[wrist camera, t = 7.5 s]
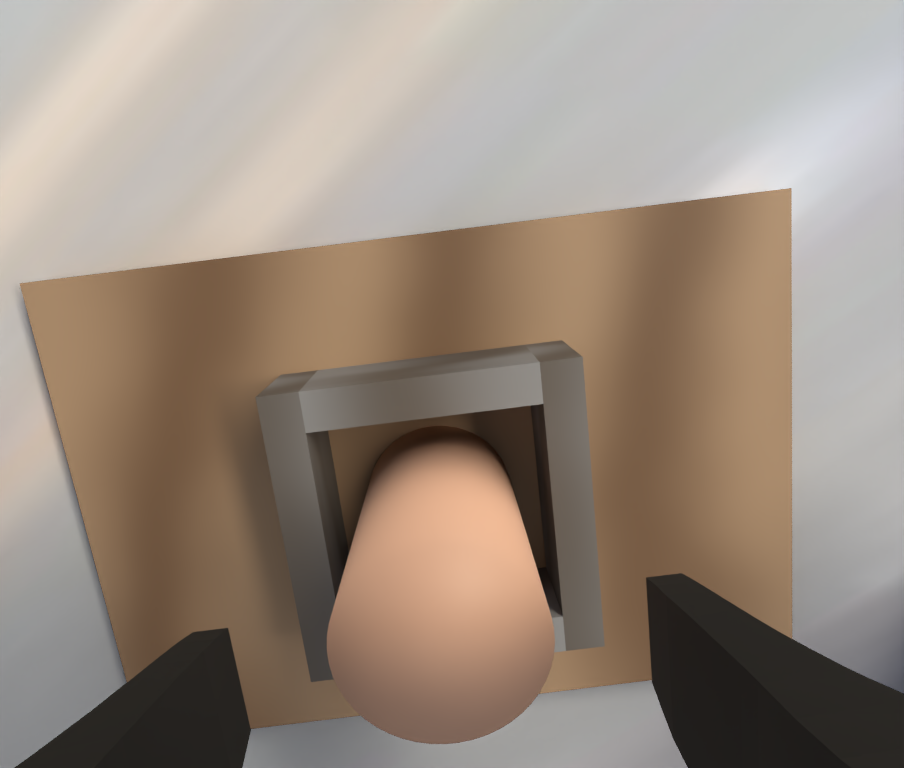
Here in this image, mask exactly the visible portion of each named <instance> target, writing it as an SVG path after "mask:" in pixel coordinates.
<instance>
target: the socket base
mask: <svg viewBox="0 0 904 768" xmlns="http://www.w3.org/2000/svg"><path fill="white" fill-rule="evenodd" d="M20 286H21V290H22V294H23V298H24V301H25V305H26V309H27V312H28V316H29V320H30V324H31V327H32V331H33V335H34V338H35V342H36V346H37V350H38V353H39V357H40V361H41V364H42V368H43V372H44V376H45V379H46V383H47V387H48V391H49V394H50V398H51V402H52V405H53V409H54V413H55V417H56V420H57V424H58V428H59V431H60V435H61V439H62V443H63V446H64V450H65V454H66V457H67V461H68V465H69V469H70V472H71V476H72V480H73V484H74V487H75V491H76V495H77V498H78V502H79V506H80V510H81V513H82V517H83V521H84V524H85V528H86V532H87V536H88V539H89V543H90V547H91V551H92V554H93V558H94V562H95V565H96V569H97V573H98V577H99V580H100V584H101V588H102V591H103V595H104V599H105V603H106V606H107V610H108V614H109V617H110V621H111V625H112V629H113V632H114V636H115V640H116V644H117V647H118V651H119V655H120V658H121V662H122V666H123V670H124V673H125V677H126V681H127V682H128V681H130V680H131V679H132V678H133V677H135V676H136V675H137V674H138V673H140V672H141V671H142V670H143V669H145V668H146V667H147V666H148V665H150V664H151V663H152V662H153V661H155V660H156V659H157V658H158V657H160V656H161V655H162V654H163V653H165V652H166V651H167V650H169V649H170V648H171V647H172V646H174V645H175V644H176V643H178V642H179V641H181V640H182V639H183V638H185V637H186V636H188V635H189V634H191V633H192V632H197V631H206V630H214V629H222V628H228V630H229V634H230V639H231V643H232V648H233V652H234V657H235V661H236V666H237V670H238V674H239V679H240V683H241V688H242V692H243V697H244V701H245V706H246V710H247V715H248V719H249V724H250V728H251V729H254V728H262V727H270V726H279V725H287V724H295V723H303V722H311V721H319V720H328V719H336V718H344V717H352V716H360V714H359V713H357V712H356V711H355V710H354V709H353V708H352V706H351V705H350V704H349V703H348V702H347V701H346V699H345V698H344V696H343V695H342V693H341V692H340V690H339V689H338V687H337V684H336V682H335V680H334V678H333V676H332V672H331V669H330V666H329V662H328V655H327V632H328V625H329V621H330V618H331V614H332V611H333V607H334V604H335V600H336V597H337V593H338V590H339V586H340V583H341V579H342V576H343V573H344V569H345V566H346V562H347V559H348V555H349V552H350V548H351V545H352V541H353V538H354V534H355V531H356V527H357V524H358V520H359V517H360V514H361V510H362V507H363V503H364V500H365V496H366V493H367V489H368V486H369V482H370V479H371V475H372V472H373V469H374V467H375V465H376V463H377V461H378V459H379V458H380V456H381V455H382V454H383V452H384V451H385V450H386V449H387V448H388V447H389V446H390V445H391V444H392V443H393V442H394V441H396V440H397V439H399V438H400V437H401V436H403V435H405V434H407V433H409V432H411V431H414V430H417V429H420V428H424V427H429V426H451V427H457V428H461V429H464V430H467V431H469V432H471V433H474V434H476V435H477V436H479V437H481V438H482V439H483V440H485V441H486V442H487V443H489V444H490V445H491V446H492V447H493V448H494V449H495V451H496V452H497V453H498V455H499V456H500V457H501V459H502V461H503V463H504V464H505V466H506V469H507V472H508V475H509V478H510V481H511V484H512V488H513V491H514V494H515V498H516V501H517V504H518V508H519V511H520V514H521V517H522V521H523V524H524V527H525V531H526V534H527V537H528V541H529V544H530V547H531V550H532V554H533V557H534V560H535V564H536V567H537V570H538V574H539V577H540V580H541V583H542V587H543V590H544V593H545V597H546V600H547V603H548V607H549V610H550V613H551V617H552V621H553V626H554V635H555V648H554V657H553V661H552V666H551V669H550V672H549V675H548V677H547V680H546V682H545V684H544V685H543V687H542V689H541V691H540V693H539V694H541V693H549V692H557V691H565V690H573V689H581V688H590V687H598V686H606V685H614V684H622V683H631V682H639V681H647V680H652V673H651V656H650V639H649V622H648V605H647V588H646V577H654V576H662V575H670V574H678V573H682V574H684V575H686V576H688V577H690V578H691V579H693V580H695V581H696V582H698V583H700V584H701V585H703V586H705V587H706V588H708V589H710V590H711V591H713V592H714V593H716V594H718V595H719V596H721V597H722V598H724V599H726V600H727V601H729V602H730V603H732V604H734V605H735V606H737V607H739V608H740V609H742V610H743V611H745V612H747V613H748V614H750V615H752V616H753V617H755V618H757V619H758V620H760V621H762V622H763V623H765V624H767V625H768V626H770V627H772V628H774V629H775V630H777V631H779V632H781V633H782V634H784V635H786V636H788V637H789V638H791V639H792V296H791V188H789V189H781V190H773V191H765V192H757V193H749V194H741V195H733V196H725V197H717V198H708V199H700V200H692V201H684V202H676V203H668V204H660V205H652V206H644V207H636V208H628V209H619V210H611V211H603V212H595V213H587V214H579V215H571V216H563V217H555V218H547V219H538V220H530V221H522V222H514V223H506V224H498V225H490V226H482V227H474V228H466V229H457V230H449V231H441V232H433V233H425V234H417V235H409V236H401V237H393V238H385V239H377V240H368V241H360V242H352V243H344V244H336V245H328V246H320V247H312V248H304V249H296V250H287V251H279V252H271V253H263V254H255V255H247V256H239V257H231V258H223V259H215V260H207V261H198V262H190V263H182V264H174V265H166V266H158V267H150V268H142V269H134V270H126V271H117V272H109V273H101V274H93V275H85V276H77V277H69V278H61V279H53V280H45V281H36V282H28V283H20Z"/></svg>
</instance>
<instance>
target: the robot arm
mask: <svg viewBox="0 0 904 768" xmlns="http://www.w3.org/2000/svg"><path fill="white" fill-rule="evenodd" d="M646 588H647V605H648V622H649V639H650V656H651V673H652V683H653V686H654V689H655V691H656V694H657V697H658V700H659V702H660V705H661V708H662V711H663V713H664V716H665V718H666V721H667V724H668V726H669V729H670V731H671V734H672V737H673V739H674V741H675V743H676V745H677V747H678V749H679V751H680V753H681V755H682V757H683V759H684V761H685V763H686V765H687V767H688V768H904V694H903V693H901V692H898V691H896V690H894V689H892V688H889V687H887V686H885V685H883V684H880V683H878V682H876V681H874V680H871V679H869V678H867V677H865V676H863V675H861V674H858V673H856V672H854V671H852V670H850V669H848V668H846V667H844V666H842V665H840V664H838V663H836V662H834V661H832V660H830V659H829V658H827V657H825V656H823V655H821V654H819V653H817V652H815V651H813V650H811V649H809V648H808V647H806V646H804V645H802V644H800V643H798V642H797V641H795V640H793V639H791V638H789V637H788V636H786V635H784V634H782V633H781V632H779V631H777V630H775V629H774V628H772V627H770V626H768V625H767V624H765V623H763V622H762V621H760V620H758V619H757V618H755V617H753V616H752V615H750V614H748V613H747V612H745V611H743V610H742V609H740V608H739V607H737V606H735V605H734V604H732V603H730V602H729V601H727V600H726V599H724V598H722V597H721V596H719V595H718V594H716V593H714V592H713V591H711V590H710V589H708V588H706V587H705V586H703V585H701V584H700V583H698V582H696V581H695V580H693V579H691V578H690V577H688V576H686V575H684V574H682V573H678V574H670V575H662V576H654V577H646ZM250 731H251V728H250V724H249V719H248V715H247V710H246V706H245V701H244V697H243V692H242V688H241V683H240V679H239V674H238V670H237V666H236V661H235V657H234V652H233V648H232V643H231V639H230V634H229V630H228V628H222V629H214V630H206V631H197V632H192V633H191V634H189V635H188V636H186V637H185V638H183V639H182V640H181V641H179V642H178V643H176V644H175V645H174V646H172V647H171V648H170V649H169V650H167V651H166V652H165V653H163V654H162V655H161V656H160V657H158V658H157V659H156V660H155V661H153V662H152V663H151V664H150V665H148V666H147V667H146V668H145V669H143V670H142V671H141V672H140V673H138V674H137V675H136V676H135V677H133V678H132V679H131V680H130V681H128V682H127V683H126V684H125V685H123V686H122V687H121V688H120V689H118V690H117V691H116V692H115V693H113V694H112V695H111V696H110V697H108V698H107V699H106V700H104V701H103V702H102V703H101V704H99V705H98V706H97V707H96V708H94V709H93V710H92V711H91V712H89V713H88V714H87V715H85V716H84V717H83V718H81V719H80V720H79V721H77V722H76V723H75V724H73V725H72V726H71V727H69V728H68V729H67V730H65V731H64V732H62V733H61V734H60V735H58V736H57V737H56V738H54V739H53V740H52V741H50V742H49V743H48V744H46V745H45V746H44V747H42V748H41V749H40V750H38V751H37V752H36V753H34V754H33V755H32V756H30V757H29V758H27V759H26V760H25V761H23V762H22V763H20V764H19V765H18V766H16V767H15V768H242V766H243V762H244V758H245V753H246V749H247V744H248V740H249V735H250Z"/></svg>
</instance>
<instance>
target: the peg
mask: <svg viewBox="0 0 904 768" xmlns="http://www.w3.org/2000/svg"><path fill="white" fill-rule="evenodd" d="M554 648H555V635H554V626H553V621H552V617H551V613H550V610H549V607H548V603H547V600H546V597H545V593H544V590H543V587H542V583H541V580H540V577H539V574H538V570H537V567H536V564H535V560H534V557H533V554H532V550H531V547H530V544H529V541H528V537H527V534H526V531H525V527H524V524H523V521H522V517H521V514H520V511H519V508H518V504H517V501H516V498H515V494H514V491H513V488H512V484H511V481H510V478H509V475H508V472H507V469H506V466H505V464H504V463H503V461H502V459H501V457H500V456H499V455H498V453H497V452H496V451H495V449H494V448H493V447H492V446H491V445H490V444H489V443H487V442H486V441H485V440H483V439H482V438H481V437H479V436H477V435H476V434H474V433H471V432H469V431H467V430H464V429H461V428H457V427H451V426H429V427H424V428H420V429H417V430H414V431H411V432H409V433H407V434H405V435H403V436H401V437H400V438H399V439H397V440H396V441H394V442H393V443H392V444H391V445H390V446H389V447H388V448H387V449H386V450H385V451H384V452H383V454H382V455H381V456H380V458H379V459H378V461H377V463H376V465H375V467H374V469H373V472H372V475H371V479H370V482H369V486H368V489H367V493H366V496H365V500H364V503H363V507H362V510H361V514H360V517H359V520H358V524H357V527H356V531H355V534H354V538H353V541H352V545H351V548H350V552H349V555H348V559H347V562H346V566H345V569H344V573H343V576H342V579H341V583H340V586H339V590H338V593H337V597H336V600H335V604H334V607H333V611H332V614H331V618H330V621H329V625H328V632H327V655H328V662H329V666H330V669H331V672H332V676H333V678H334V680H335V682H336V684H337V687H338V689H339V690H340V692H341V693H342V695H343V696H344V698H345V699H346V701H347V702H348V703H349V704H350V705H351V706H352V708H353V709H354V710H355V711H356V712H357V713H359V714H360V715H361V716H362V717H363V718H364V719H365V720H367V721H368V722H370V723H371V724H373V725H374V726H376V727H377V728H379V729H381V730H383V731H385V732H387V733H389V734H392V735H394V736H397V737H400V738H402V739H406V740H410V741H414V742H421V743H428V744H450V743H459V742H464V741H469V740H473V739H476V738H479V737H482V736H485V735H488V734H490V733H492V732H494V731H496V730H499V729H500V728H502V727H504V726H505V725H507V724H508V723H510V722H512V721H513V720H514V719H515V718H517V717H518V716H519V715H520V714H522V713H523V712H524V711H525V710H526V708H527V707H528V706H529V705H530V704H531V703H532V702H533V701H534V699H535V698H536V697H537V695H538V694H539V693H540V691H541V689H542V687H543V685H544V684H545V682H546V680H547V677H548V675H549V672H550V669H551V666H552V661H553V657H554Z"/></svg>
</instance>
